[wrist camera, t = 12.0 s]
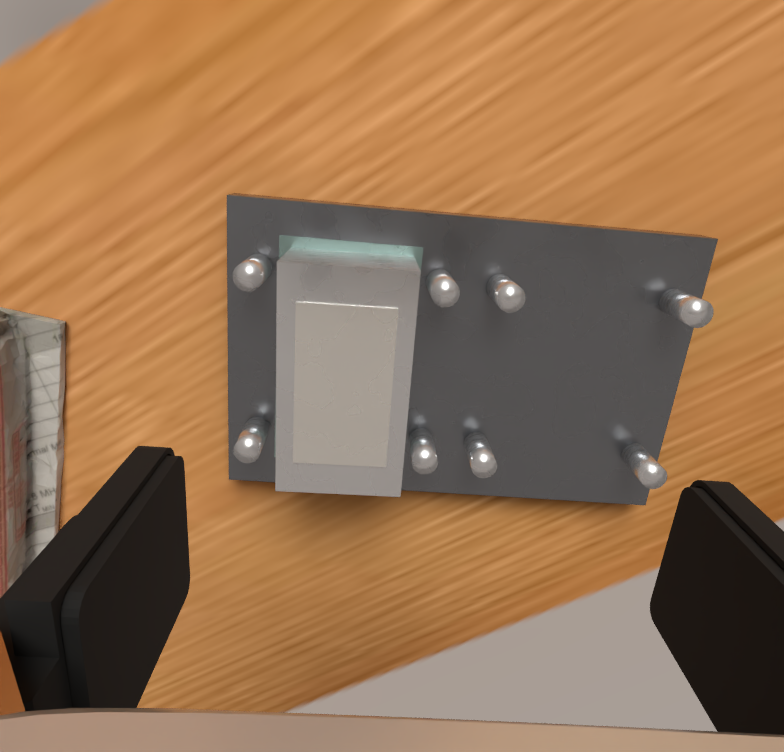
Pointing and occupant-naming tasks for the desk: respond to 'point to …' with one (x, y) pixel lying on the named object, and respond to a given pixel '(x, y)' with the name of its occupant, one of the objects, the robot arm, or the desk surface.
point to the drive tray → (491, 344)
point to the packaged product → (29, 437)
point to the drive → (343, 370)
